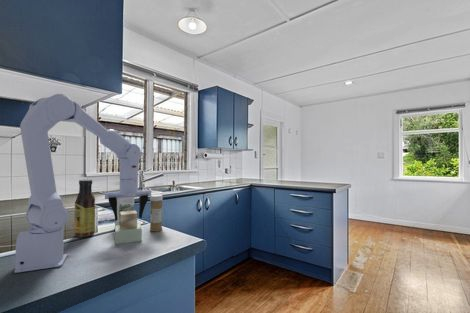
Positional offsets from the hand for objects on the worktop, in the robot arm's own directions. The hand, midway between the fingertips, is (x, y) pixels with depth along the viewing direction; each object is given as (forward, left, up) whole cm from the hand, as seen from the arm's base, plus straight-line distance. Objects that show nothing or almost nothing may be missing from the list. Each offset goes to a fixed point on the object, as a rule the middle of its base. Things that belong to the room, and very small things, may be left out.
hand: (128, 218), depth 85 cm
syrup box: (-1, +15, -7) cm, 17 cm away
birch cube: (0, 0, -3) cm, 3 cm away
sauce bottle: (-14, +10, -7) cm, 19 cm away
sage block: (0, 0, -7) cm, 7 cm away
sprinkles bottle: (+10, +7, -7) cm, 14 cm away
